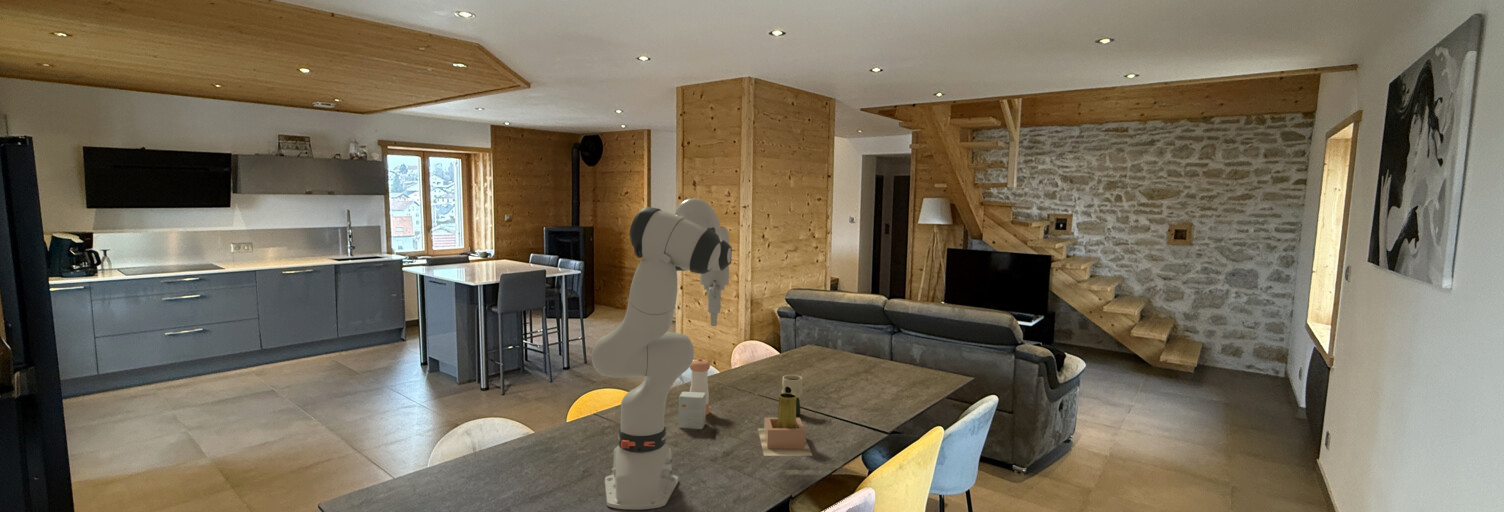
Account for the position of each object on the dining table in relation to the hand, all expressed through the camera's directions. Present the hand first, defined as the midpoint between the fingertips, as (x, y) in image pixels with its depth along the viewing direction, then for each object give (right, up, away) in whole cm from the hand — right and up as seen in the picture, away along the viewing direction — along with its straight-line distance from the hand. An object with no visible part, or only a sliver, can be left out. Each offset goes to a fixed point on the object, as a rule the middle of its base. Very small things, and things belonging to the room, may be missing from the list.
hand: (713, 322), depth 202 cm
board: (+22, -36, -5) cm, 43 cm away
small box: (-7, -35, +9) cm, 36 cm away
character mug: (+26, -34, +23) cm, 48 cm away
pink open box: (+22, -35, -5) cm, 42 cm away
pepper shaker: (-6, -33, +22) cm, 40 cm away
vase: (+22, -36, -5) cm, 42 cm away
